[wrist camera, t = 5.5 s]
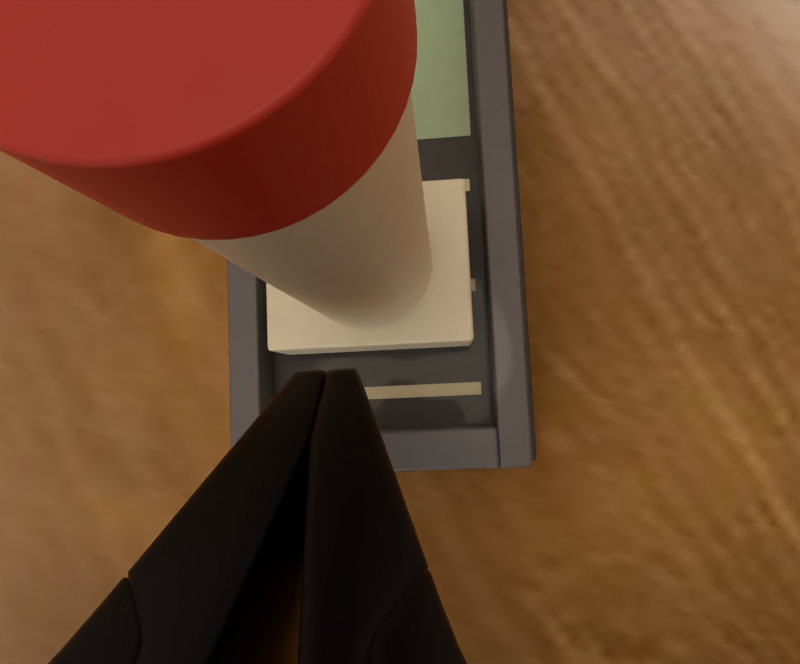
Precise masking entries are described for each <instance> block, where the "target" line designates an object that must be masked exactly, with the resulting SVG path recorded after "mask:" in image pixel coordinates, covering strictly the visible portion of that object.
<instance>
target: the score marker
mask: <svg viewBox="0 0 800 664" xmlns="http://www.w3.org/2000/svg"><path fill="white" fill-rule="evenodd" d="M416 61H417V24H416V12H415V0H0V151H2V152H4V153H6V154H8V155H10V156H12V157H14V158H15V159H17V160H19V161H21V162H23V163H25V164H27V165H29V166H31V167H33V168H34V169H36V170H38V171H40V172H42V173H44V174H46V175H48V176H50V177H51V178H53V179H55V180H57V181H59V182H61V183H63V184H65V185H67V186H68V187H70V188H72V189H74V190H76V191H78V192H80V193H82V194H84V195H85V196H87V197H89V198H91V199H93V200H95V201H97V202H99V203H101V204H103V205H104V206H106V207H108V208H110V209H112V210H114V211H116V212H118V213H120V214H121V215H123V216H125V217H127V218H129V219H131V220H133V221H135V222H138V223H140V224H142V225H144V226H147V227H149V228H151V229H154V230H157V231H161V232H164V233H168V234H171V235H175V236H179V237H186V238H190V239H192V240H194V241H195V242H197V243H199V244H201V245H202V246H204V247H206V248H207V249H209V250H211V251H213V252H214V253H216V254H218V255H220V256H221V257H223V258H225V259H227V260H228V261H230V262H232V263H233V264H235V265H237V266H239V267H240V268H242V269H244V270H246V271H247V272H249V273H251V274H253V275H254V276H256V277H258V278H259V279H261V280H263V281H265V282H266V298H267V338H268V349H269V350H270V351H273V352H278V353H283V354H288V355H296V354H316V353H336V352H356V351H377V350H397V349H417V348H437V347H457V346H469V345H470V344H471V342H472V341H473V338H474V331H473V314H472V296H471V278H470V261H469V243H468V225H467V207H466V190H465V181H464V179H449V180H434V181H422V177H421V169H420V160H419V152H418V144H417V136H416V127H415V119H414V111H413V103H412V94H411V88H412V85H413V80H414V74H415V67H416Z"/></svg>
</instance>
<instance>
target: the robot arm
mask: <svg viewBox="0 0 800 664" xmlns="http://www.w3.org/2000/svg"><path fill="white" fill-rule="evenodd" d="M48 664H467V663H466V661H465V659H464V656H463V654H462V652H461V650H460V648H459V646H458V643H457V641H456V638H455V636H454V633H453V631H452V628H451V626H450V623H449V621H448V618H447V616H446V613H445V611H444V608H443V606H442V603H441V600H440V598H439V595H438V592H437V589H436V586H435V584H434V581H433V578H432V575H431V573H430V572H429V571H428V565H427V562H426V559H425V556H424V554H423V551H422V548H421V545H420V542H419V540H418V537H417V534H416V531H415V528H414V526H413V523H412V520H411V517H410V514H409V512H408V509H407V506H406V503H405V500H404V498H403V495H402V492H401V489H400V486H399V483H398V481H397V478H396V475H395V472H394V469H393V467H392V464H391V461H390V458H389V455H388V453H387V450H386V447H385V444H384V441H383V439H382V436H381V433H380V430H379V427H378V425H377V422H376V419H375V416H374V413H373V411H372V408H371V405H370V402H369V399H368V397H367V394H366V391H365V388H364V385H363V383H362V380H361V377H360V374H359V372H358V370H357V369H356V368H332V369H330V370H329V371H328V372H327V371H325V370H323V369H311V370H299V371H297V372H295V373H294V374H293V375H292V376H291V378H290V379H289V380H288V381H287V382H286V384H285V385H284V386H283V387H282V388H281V390H280V391H279V392H278V393H277V394H276V396H275V397H274V398H273V399H272V400H271V402H270V403H269V404H268V405H267V406H266V408H265V409H264V410H263V411H262V412H261V414H260V415H259V416H258V417H257V418H256V420H255V421H254V422H253V423H252V424H251V426H250V427H249V428H248V429H247V430H246V431H245V433H244V434H243V435H242V436H241V437H240V439H239V440H238V441H237V442H236V443H235V445H234V446H233V447H232V448H231V449H230V451H229V452H228V453H227V454H226V455H225V457H224V458H223V459H222V460H221V461H220V463H219V464H218V465H217V466H216V467H215V469H214V470H213V471H212V472H211V473H210V475H209V476H208V477H207V478H206V479H205V481H204V482H203V483H202V484H201V485H200V487H199V488H198V489H197V490H196V491H195V493H194V494H193V495H192V496H191V497H190V498H189V500H188V501H187V502H186V503H185V504H184V506H183V507H182V508H181V509H180V510H179V512H178V513H177V514H176V515H175V516H174V518H173V519H172V520H171V521H170V522H169V524H168V525H167V526H166V527H165V528H164V530H163V531H162V532H161V533H160V534H159V536H158V537H157V538H156V539H155V540H154V542H153V543H152V544H151V545H150V546H149V548H148V549H147V550H146V551H145V552H144V554H143V555H142V556H141V557H140V558H139V560H138V561H137V562H136V563H135V564H134V565H133V567H132V568H131V569H130V570H129V572H128V578H123V579H121V581H120V582H119V583H118V584H117V585H116V587H115V588H114V589H113V590H112V591H111V593H110V594H109V595H108V596H107V597H106V599H105V600H104V601H103V602H102V603H101V605H100V606H99V607H98V608H97V609H96V610H95V611H94V613H93V614H92V615H91V616H90V617H89V618H88V620H87V621H86V622H85V623H84V624H83V625H82V626H81V628H80V629H79V630H78V631H77V632H76V633H75V634H74V636H73V637H72V638H71V639H70V640H69V641H68V642H67V644H66V645H65V646H64V647H63V648H62V649H61V650H60V651H59V652H58V653H57V655H56V656H55V657H54V658H53V659H52V660H51V661H50V662H49V663H48Z"/></svg>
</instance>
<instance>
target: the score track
mask: <svg viewBox="0 0 800 664" xmlns="http://www.w3.org/2000/svg"><path fill="white" fill-rule="evenodd" d="M415 12H416V24H417V61H416V67H415V74H414V80H413V85H412V88H411V94H412V103H413V111H414V119H415V127H416V136H417V144H418V152H419V160H420V169H421V177H422V181H434V180H449V179H464V181H465V190H466V207H467V225H468V243H469V261H470V278H471V296H472V314H473V331H474V338H473V341H472V342H471V344H470V345H469V346H457V347H437V348H417V349H397V350H377V351H356V352H336V353H316V354H296V355H288V354H283V353H278V352H273V351H270V350H269V349H268V338H267V298H266V282H265V281H263V280H261V279H259V278H258V277H256V276H254V275H253V274H251V273H249V272H247V271H246V270H244V269H242V268H240V267H239V266H237V265H235V264H233V263H232V262H230V261H228V260H227V262H228V315H229V367H230V420H231V448H232V447H233V446H234V445H235V443H236V442H237V441H238V440H239V439H240V437H241V436H242V435H243V434H244V433H245V431H246V430H247V429H248V428H249V427H250V426H251V424H252V423H253V422H254V421H255V420H256V418H257V417H258V416H259V415H260V414H261V412H262V411H263V410H264V409H265V408H266V406H267V405H268V404H269V403H270V402H271V400H272V399H273V398H274V397H275V396H276V394H277V393H278V392H279V391H280V390H281V388H282V387H283V386H284V385H285V384H286V382H287V381H288V380H289V379H290V378H291V376H292V375H293V374H294V373H295V372H297V371H299V370H311V369H323V370H325V371H327V372H328V371H329V370H330V369H332V368H356V369H357V370H358V372H359V374H360V377H361V380H362V383H363V385H364V388H365V391H366V394H367V397H368V399H369V402H370V405H371V408H372V411H373V413H374V416H375V419H376V422H377V425H378V427H379V430H380V433H381V436H382V439H383V441H384V444H385V447H386V450H387V453H388V455H389V458H390V461H391V464H392V467H393V469H394V472H403V471H431V470H459V469H487V468H497V467H499V465H500V467H501V468H521V467H531V466H532V460H536V448H535V433H534V417H533V402H532V386H531V371H530V355H529V340H528V325H527V309H526V294H525V278H524V263H523V247H522V232H521V216H520V201H519V186H518V170H517V155H516V139H515V124H514V108H513V93H512V78H511V62H510V47H509V31H508V16H507V0H415Z"/></svg>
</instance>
